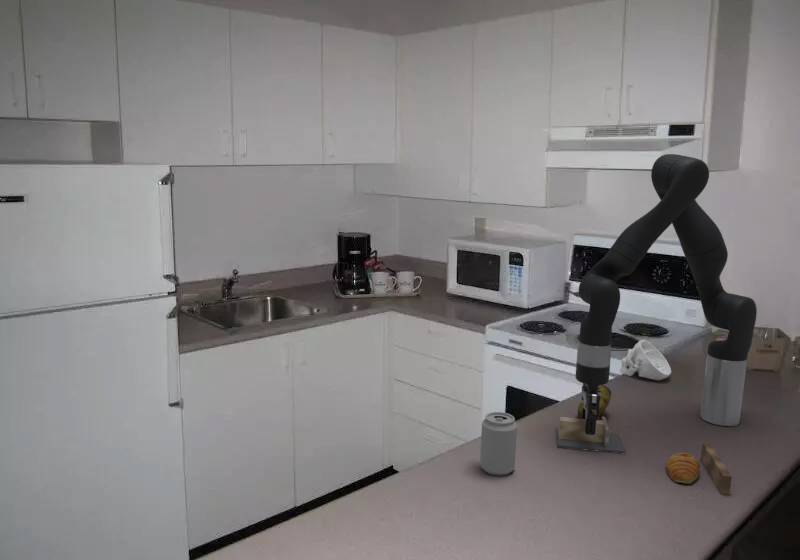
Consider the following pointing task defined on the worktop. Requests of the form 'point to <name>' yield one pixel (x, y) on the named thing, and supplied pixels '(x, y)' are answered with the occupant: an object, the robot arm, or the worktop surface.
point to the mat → (593, 444)
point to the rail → (716, 468)
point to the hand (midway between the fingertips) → (588, 426)
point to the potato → (604, 401)
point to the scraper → (583, 430)
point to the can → (498, 443)
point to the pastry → (683, 468)
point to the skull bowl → (645, 362)
